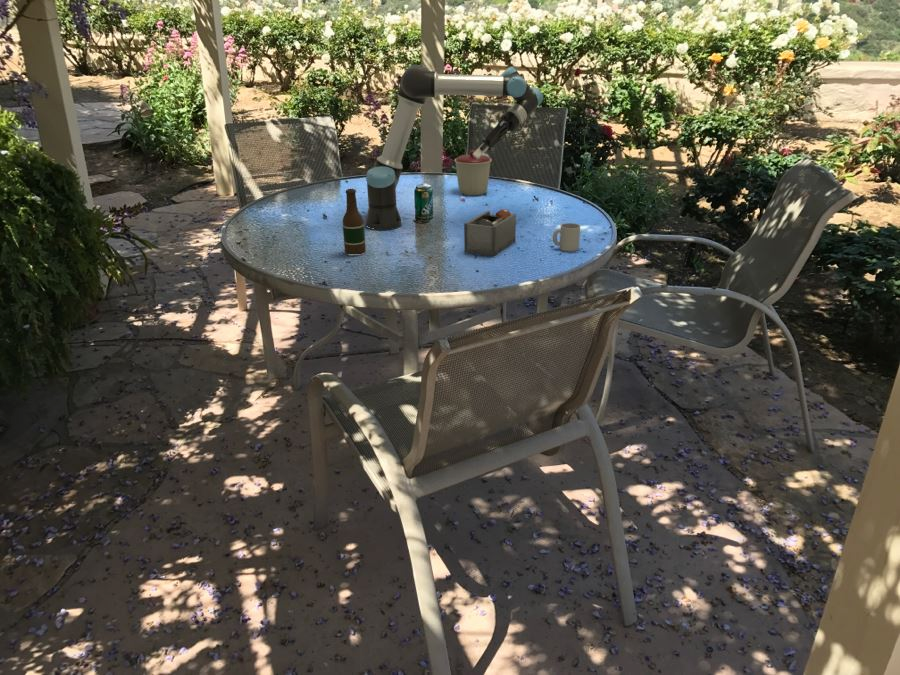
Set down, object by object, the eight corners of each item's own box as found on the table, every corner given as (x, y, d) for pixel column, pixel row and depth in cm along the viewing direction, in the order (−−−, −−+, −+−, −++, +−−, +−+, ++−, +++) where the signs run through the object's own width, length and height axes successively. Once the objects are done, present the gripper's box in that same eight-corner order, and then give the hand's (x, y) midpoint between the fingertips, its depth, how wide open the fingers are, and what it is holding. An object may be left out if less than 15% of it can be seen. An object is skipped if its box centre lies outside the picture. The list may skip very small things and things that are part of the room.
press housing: (487, 238, 278) (487, 210, 273) (515, 241, 272) (516, 214, 268) (464, 252, 262) (464, 223, 257) (493, 256, 256) (494, 227, 252)
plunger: (494, 227, 277) (494, 207, 274) (513, 229, 274) (513, 209, 270) (474, 239, 263) (474, 218, 259) (493, 242, 259) (494, 221, 256)
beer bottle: (355, 248, 268) (351, 186, 258) (370, 252, 264) (365, 188, 253) (340, 253, 263) (335, 190, 253) (355, 257, 258) (350, 193, 248)
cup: (580, 251, 260) (581, 228, 256) (553, 252, 260) (554, 228, 257) (577, 245, 267) (578, 223, 263) (551, 246, 267) (552, 223, 263)
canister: (447, 195, 342) (446, 151, 333) (467, 187, 356) (467, 145, 347) (479, 199, 333) (479, 154, 324) (498, 191, 346) (498, 148, 337)
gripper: (522, 114, 279) (483, 154, 274) (518, 132, 291) (480, 170, 286) (508, 103, 280) (469, 142, 275) (504, 121, 292) (467, 158, 287)
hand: (475, 156), depth 281 cm, fingers closed
